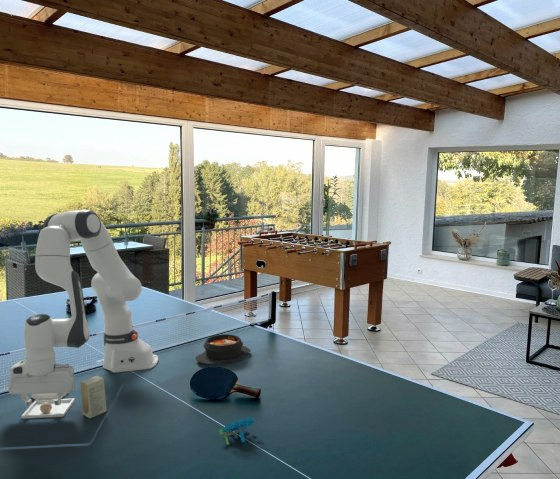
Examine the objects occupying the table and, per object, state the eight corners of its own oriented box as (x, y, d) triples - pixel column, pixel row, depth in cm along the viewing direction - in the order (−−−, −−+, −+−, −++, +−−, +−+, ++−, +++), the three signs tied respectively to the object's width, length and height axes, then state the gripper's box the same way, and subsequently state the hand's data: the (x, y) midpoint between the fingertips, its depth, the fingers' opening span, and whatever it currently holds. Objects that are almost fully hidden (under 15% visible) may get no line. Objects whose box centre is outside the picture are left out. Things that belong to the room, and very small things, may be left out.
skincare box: (99, 409, 167) (97, 374, 165) (107, 412, 164) (104, 377, 162) (82, 416, 162) (79, 380, 160) (89, 420, 159) (86, 384, 157)
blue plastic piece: (251, 422, 153) (255, 412, 145) (257, 441, 150) (261, 431, 142) (217, 433, 150) (219, 423, 142) (222, 453, 147) (224, 444, 139)
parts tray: (75, 402, 171) (74, 398, 171) (63, 418, 160) (63, 413, 160) (35, 404, 170) (35, 400, 170) (21, 420, 159) (21, 415, 159)
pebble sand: (54, 410, 165) (53, 399, 164) (49, 415, 161) (49, 404, 161) (42, 410, 165) (42, 400, 164) (38, 415, 161) (37, 405, 160)
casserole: (233, 346, 227) (233, 328, 225) (259, 356, 213) (259, 338, 212) (187, 360, 210) (186, 341, 209) (212, 372, 196) (211, 352, 195)
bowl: (73, 387, 184) (72, 378, 183) (62, 401, 172) (61, 392, 172) (41, 388, 183) (40, 379, 182) (27, 403, 171) (26, 393, 171)
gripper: (76, 360, 164) (78, 400, 166) (13, 362, 163) (16, 401, 165) (70, 367, 158) (72, 408, 160) (4, 369, 157) (7, 410, 158)
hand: (43, 405), depth 162 cm, fingers open, 8 cm apart
